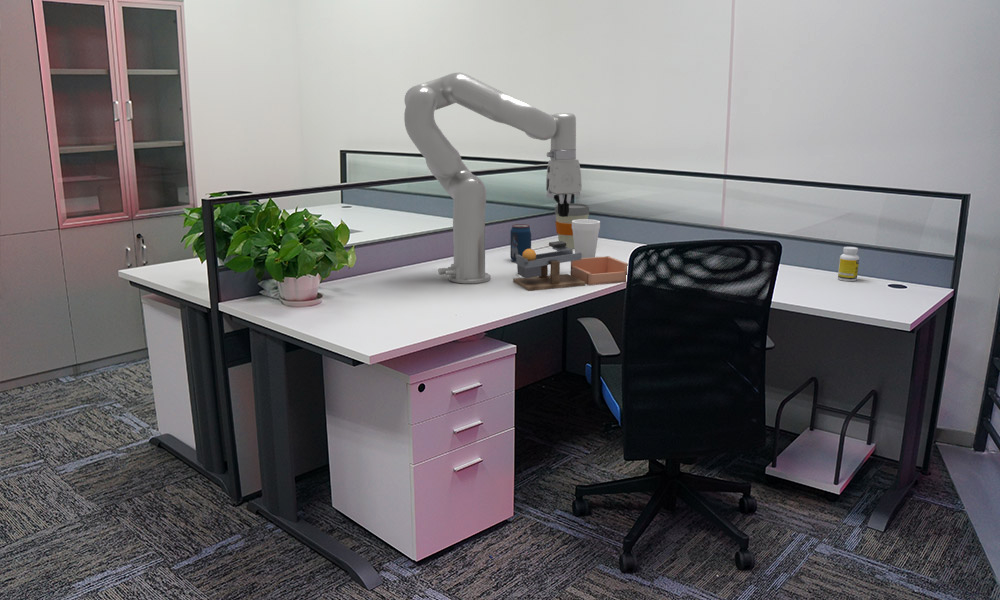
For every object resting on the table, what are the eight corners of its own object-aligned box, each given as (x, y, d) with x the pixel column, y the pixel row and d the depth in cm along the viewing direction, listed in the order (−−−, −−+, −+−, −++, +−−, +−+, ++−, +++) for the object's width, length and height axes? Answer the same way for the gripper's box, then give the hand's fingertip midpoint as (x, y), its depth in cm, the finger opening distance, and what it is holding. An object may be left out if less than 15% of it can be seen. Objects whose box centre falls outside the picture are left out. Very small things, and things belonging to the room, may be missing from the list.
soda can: (532, 259, 280) (532, 224, 277) (529, 263, 274) (530, 227, 271) (511, 258, 281) (511, 223, 278) (509, 262, 275) (509, 226, 272)
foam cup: (600, 262, 275) (601, 223, 272) (572, 262, 275) (572, 223, 272) (597, 256, 284) (598, 219, 281) (570, 256, 284) (571, 219, 281)
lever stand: (528, 290, 237) (528, 265, 235) (513, 281, 247) (513, 257, 246) (585, 285, 243) (585, 260, 241) (567, 277, 254) (568, 253, 252)
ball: (527, 265, 239) (523, 253, 238) (522, 263, 243) (518, 250, 241) (539, 260, 240) (536, 247, 239) (534, 257, 244) (530, 245, 242)
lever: (526, 278, 238) (524, 258, 237) (506, 268, 252) (505, 249, 251) (583, 269, 244) (582, 249, 243) (561, 259, 258) (560, 240, 257)
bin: (588, 285, 243) (588, 266, 242) (570, 276, 254) (570, 259, 253) (627, 281, 248) (627, 263, 246) (608, 273, 259) (608, 256, 257)
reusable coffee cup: (579, 251, 294) (580, 209, 290) (548, 247, 300) (548, 206, 297) (594, 245, 304) (595, 204, 301) (563, 242, 311) (564, 202, 307)
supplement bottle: (857, 282, 246) (861, 249, 244) (838, 281, 248) (841, 248, 246) (856, 278, 251) (859, 246, 249) (837, 277, 253) (840, 245, 250)
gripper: (545, 157, 242) (546, 219, 247) (591, 155, 247) (590, 216, 252) (535, 155, 249) (536, 216, 254) (580, 153, 254) (579, 212, 259)
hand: (563, 216), depth 253 cm, fingers closed
